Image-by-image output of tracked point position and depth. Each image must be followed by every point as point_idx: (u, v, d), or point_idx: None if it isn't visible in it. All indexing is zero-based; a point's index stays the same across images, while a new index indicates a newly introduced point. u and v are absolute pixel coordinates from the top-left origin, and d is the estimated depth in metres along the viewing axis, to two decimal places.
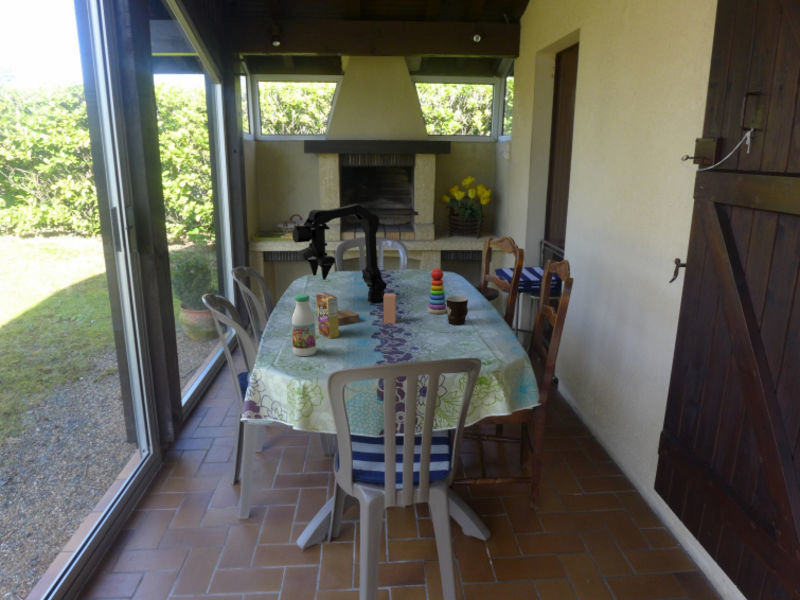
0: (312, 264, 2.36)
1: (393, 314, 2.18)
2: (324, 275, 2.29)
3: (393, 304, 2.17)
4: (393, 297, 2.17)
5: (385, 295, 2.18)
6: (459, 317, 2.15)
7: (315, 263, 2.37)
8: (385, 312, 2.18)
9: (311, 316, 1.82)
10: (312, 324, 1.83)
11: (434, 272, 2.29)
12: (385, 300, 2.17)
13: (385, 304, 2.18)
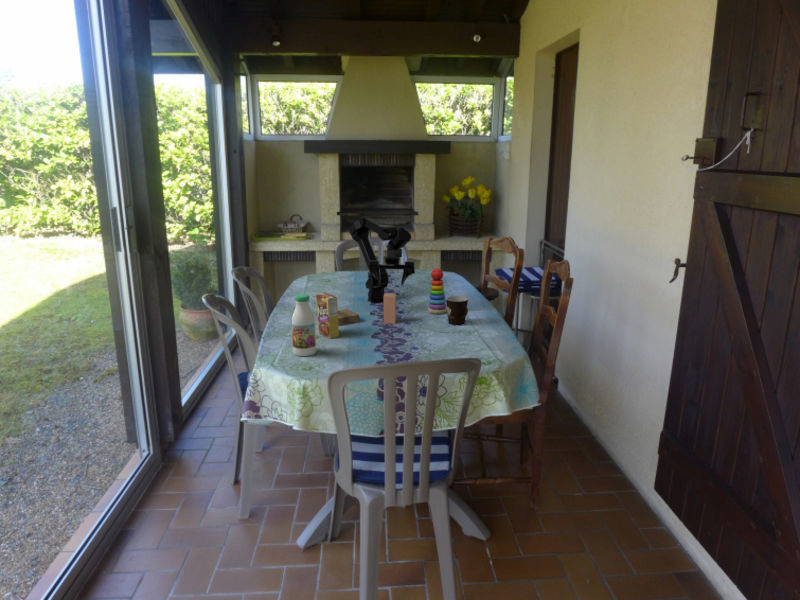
0: (379, 273, 2.28)
1: (393, 314, 2.18)
2: (403, 280, 2.26)
3: (393, 304, 2.17)
4: (393, 297, 2.17)
5: (385, 295, 2.18)
6: (459, 317, 2.15)
7: None
8: (385, 312, 2.18)
9: (311, 316, 1.82)
10: (312, 324, 1.83)
11: (434, 272, 2.29)
12: (385, 300, 2.17)
13: (385, 304, 2.18)
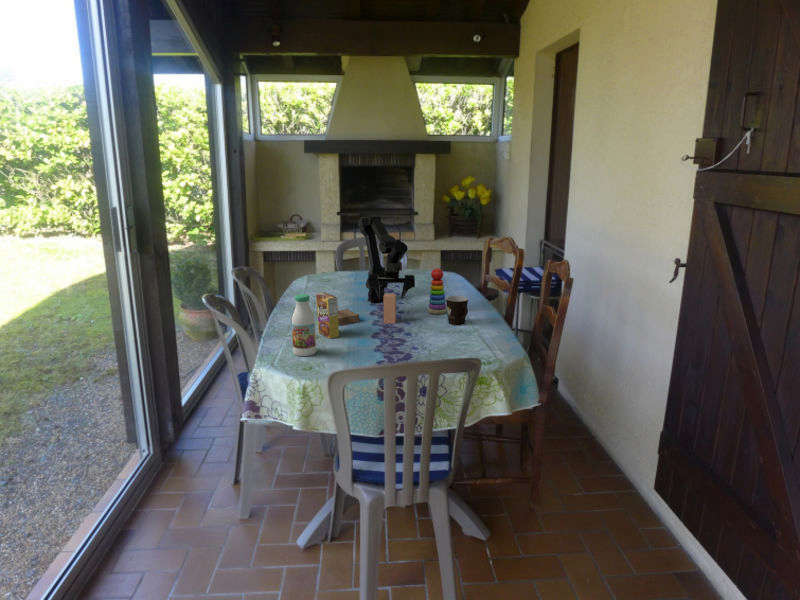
0: (379, 287, 2.23)
1: (393, 314, 2.18)
2: (404, 294, 2.21)
3: (393, 304, 2.17)
4: (393, 297, 2.17)
5: (385, 295, 2.18)
6: (459, 317, 2.15)
7: (379, 288, 2.25)
8: (385, 312, 2.18)
9: (311, 316, 1.82)
10: (312, 324, 1.83)
11: (434, 272, 2.29)
12: (385, 300, 2.17)
13: (385, 304, 2.18)
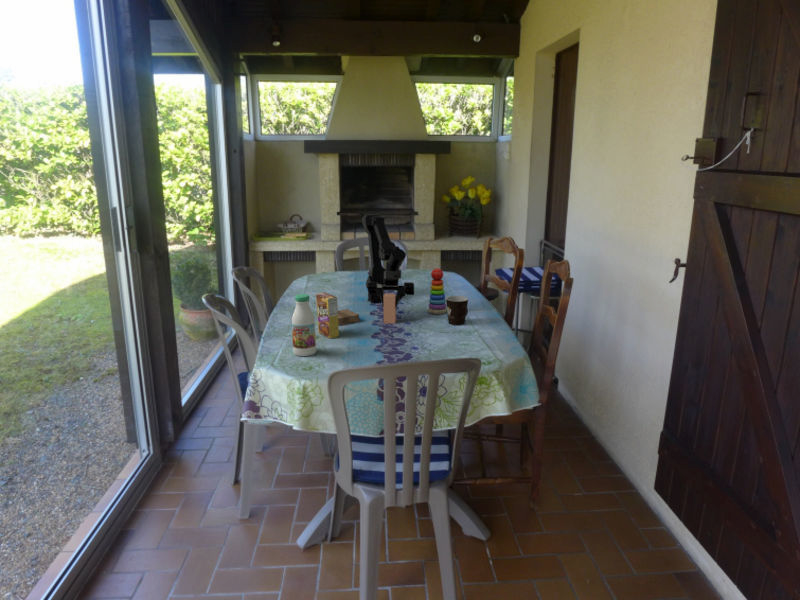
0: (383, 295, 2.21)
1: (393, 314, 2.18)
2: (397, 302, 2.19)
3: (393, 304, 2.17)
4: (393, 297, 2.17)
5: (385, 295, 2.18)
6: (459, 317, 2.15)
7: None
8: (385, 312, 2.18)
9: (311, 316, 1.82)
10: (312, 324, 1.83)
11: (434, 272, 2.29)
12: (385, 300, 2.17)
13: (385, 304, 2.18)
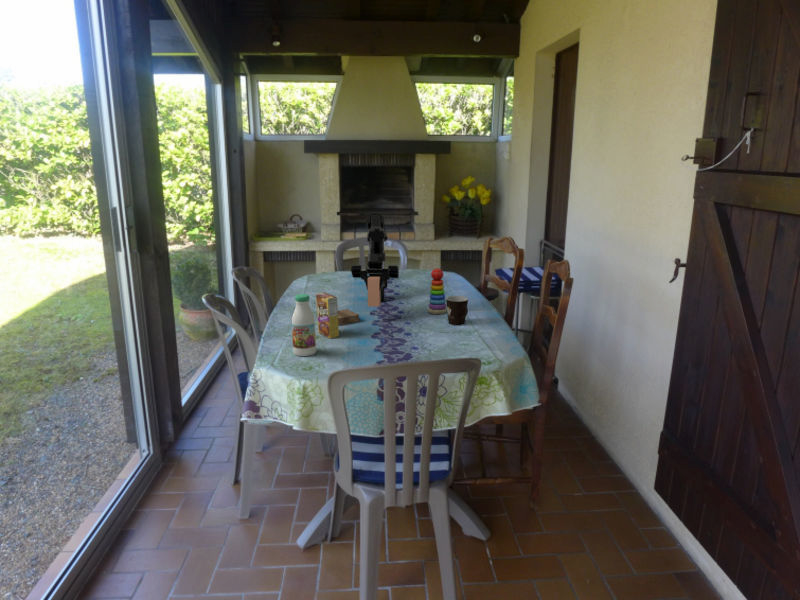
0: (367, 278, 2.19)
1: (377, 297, 2.17)
2: (382, 285, 2.18)
3: (377, 287, 2.16)
4: (377, 280, 2.15)
5: (369, 278, 2.17)
6: (459, 317, 2.15)
7: None
8: (369, 295, 2.17)
9: (311, 316, 1.82)
10: (312, 324, 1.83)
11: (434, 272, 2.29)
12: (369, 283, 2.16)
13: (369, 287, 2.16)
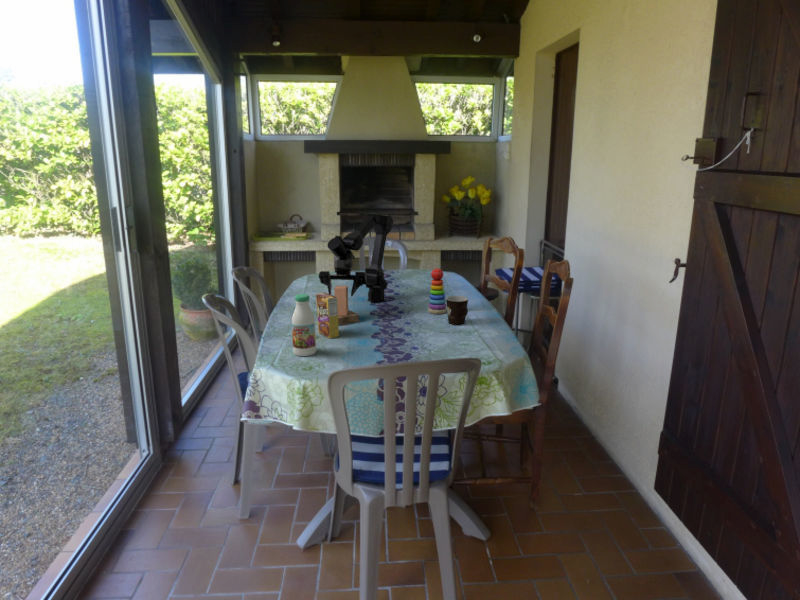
0: (330, 284, 2.21)
1: (344, 306, 2.19)
2: (353, 291, 2.19)
3: (344, 296, 2.18)
4: (344, 289, 2.17)
5: (336, 287, 2.18)
6: (459, 317, 2.15)
7: (330, 285, 2.22)
8: None
9: (311, 316, 1.82)
10: (312, 324, 1.83)
11: (434, 272, 2.29)
12: (336, 292, 2.18)
13: (336, 296, 2.18)
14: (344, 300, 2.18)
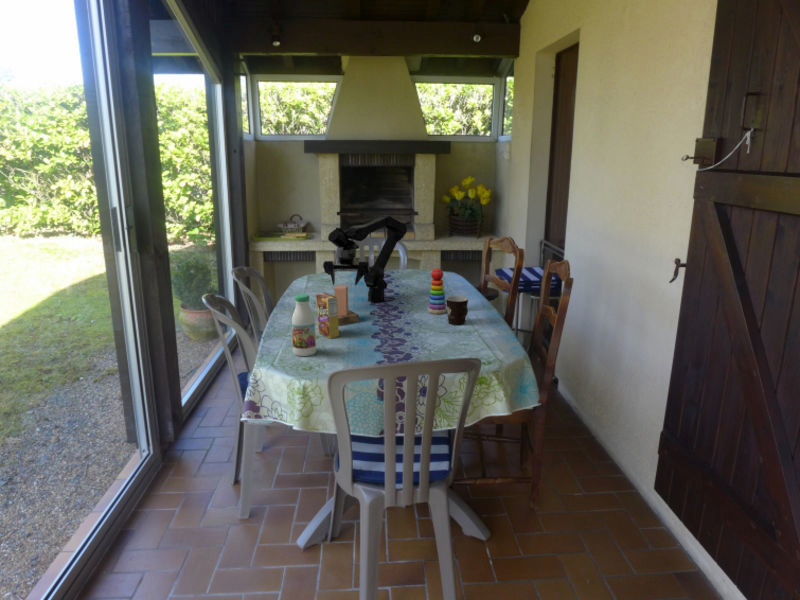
0: (333, 273, 2.28)
1: (344, 306, 2.19)
2: (357, 280, 2.26)
3: (344, 296, 2.18)
4: (344, 289, 2.17)
5: (336, 287, 2.18)
6: (459, 317, 2.15)
7: (334, 275, 2.30)
8: None
9: (311, 316, 1.82)
10: (312, 324, 1.83)
11: (434, 272, 2.29)
12: (336, 292, 2.18)
13: (336, 296, 2.18)
14: (344, 300, 2.18)
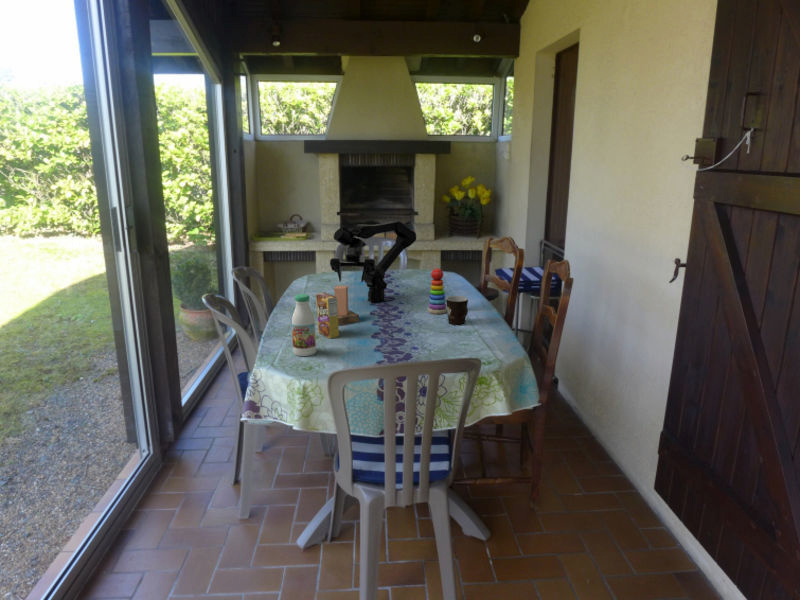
0: (340, 270, 2.32)
1: (344, 306, 2.19)
2: (364, 277, 2.31)
3: (344, 296, 2.18)
4: (344, 289, 2.17)
5: (336, 287, 2.18)
6: (459, 317, 2.15)
7: (340, 272, 2.34)
8: None
9: (311, 316, 1.82)
10: (312, 324, 1.83)
11: (434, 272, 2.29)
12: (336, 292, 2.18)
13: (336, 296, 2.18)
14: (344, 300, 2.18)
